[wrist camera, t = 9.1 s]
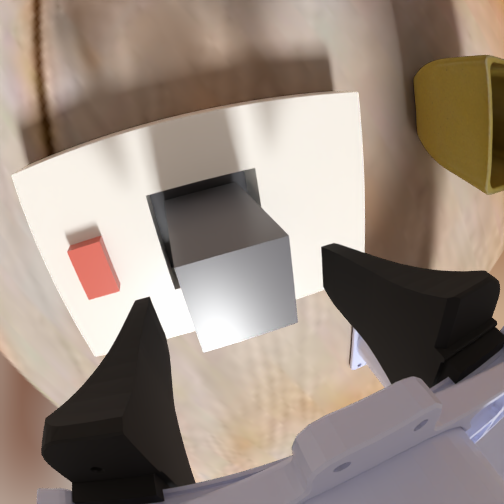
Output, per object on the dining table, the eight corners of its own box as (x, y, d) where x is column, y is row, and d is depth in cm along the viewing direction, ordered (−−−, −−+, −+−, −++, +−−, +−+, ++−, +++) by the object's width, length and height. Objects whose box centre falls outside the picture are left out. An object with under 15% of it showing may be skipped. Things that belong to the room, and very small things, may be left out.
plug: (232, 178, 20) (289, 235, 12) (244, 240, 22) (297, 322, 14) (163, 197, 19) (174, 268, 11) (181, 258, 21) (203, 352, 14)
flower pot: (399, 161, 23) (487, 198, 16) (389, 53, 19) (487, 54, 11) (463, 149, 25) (539, 178, 17) (458, 59, 21) (541, 69, 13)
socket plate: (333, 90, 19) (366, 92, 16) (343, 257, 26) (369, 281, 22) (29, 164, 16) (5, 179, 13) (98, 329, 22) (94, 365, 19)
